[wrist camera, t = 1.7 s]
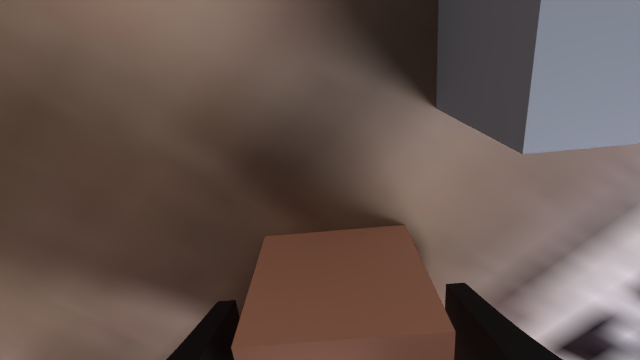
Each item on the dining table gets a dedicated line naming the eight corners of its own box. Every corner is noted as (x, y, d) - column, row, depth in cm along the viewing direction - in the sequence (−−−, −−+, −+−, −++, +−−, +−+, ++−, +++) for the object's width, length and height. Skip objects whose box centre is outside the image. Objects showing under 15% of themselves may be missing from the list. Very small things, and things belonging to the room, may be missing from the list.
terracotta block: (405, 332, 14) (447, 474, 9) (283, 340, 14) (265, 484, 10) (404, 223, 12) (455, 331, 8) (265, 235, 12) (231, 347, 8)
